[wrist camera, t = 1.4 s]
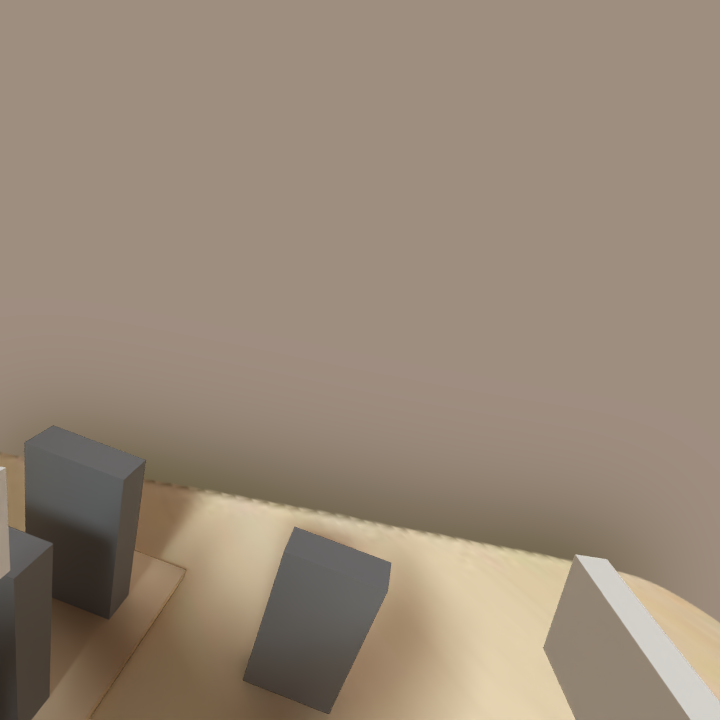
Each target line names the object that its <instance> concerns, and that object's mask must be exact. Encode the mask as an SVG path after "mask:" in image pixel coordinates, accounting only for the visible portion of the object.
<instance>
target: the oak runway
mask: <svg viewBox="0 0 720 720" xmlns="http://www.w3.org/2000/svg"><path fill="white" fill-rule="evenodd" d="M184 575H185V569H182V568H180V567H177V566H174V565H172V564H169V563H167V562H164V561H161V560H159V559H156V558H154V557H151V556H148V555H146V554H143V553H141V552H138V551H135V550H134V556H133V564H132V572H131V580H130V588H129V595H128V596H127V598H126V599H125V600H124V601H123V603H122V604H121V605H120V607H119V608H118V609H117V610H116V612H115V613H114V614H113V616H112V617H111V618H110V619H109V620H108V619H105V618H103V617H100V616H98V615H95V614H93V613H90V612H88V611H85V610H83V609H80V608H78V607H75V606H72V605H70V604H67V603H65V602H62V601H60V600H57V599H55V598H52V613H51V655H50V697H49V698H48V699H47V701H46V702H45V703H44V704H43V706H42V707H41V708H40V710H39V711H38V712H37V713H36V715H35V716H34V717H33V719H32V720H89V718H90V717H91V715H92V714H93V712H94V711H95V709H96V708H97V706H98V705H99V703H100V702H101V700H102V699H103V697H104V696H105V694H106V693H107V691H108V690H109V688H110V687H111V685H112V684H113V682H114V681H115V679H116V678H117V676H118V675H119V673H120V672H121V670H122V669H123V667H124V666H125V664H126V663H127V661H128V660H129V658H130V657H131V655H132V654H133V652H134V651H135V649H136V648H137V646H138V645H139V643H140V642H141V640H142V639H143V637H144V636H145V634H146V633H147V631H148V630H149V628H150V627H151V625H152V624H153V622H154V621H155V619H156V618H157V616H158V615H159V613H160V612H161V610H162V609H163V607H164V606H165V604H166V603H167V601H168V600H169V598H170V597H171V595H172V594H173V592H174V591H175V589H176V588H177V586H178V585H179V583H180V582H181V580H182V579H183V577H184Z"/></svg>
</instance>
